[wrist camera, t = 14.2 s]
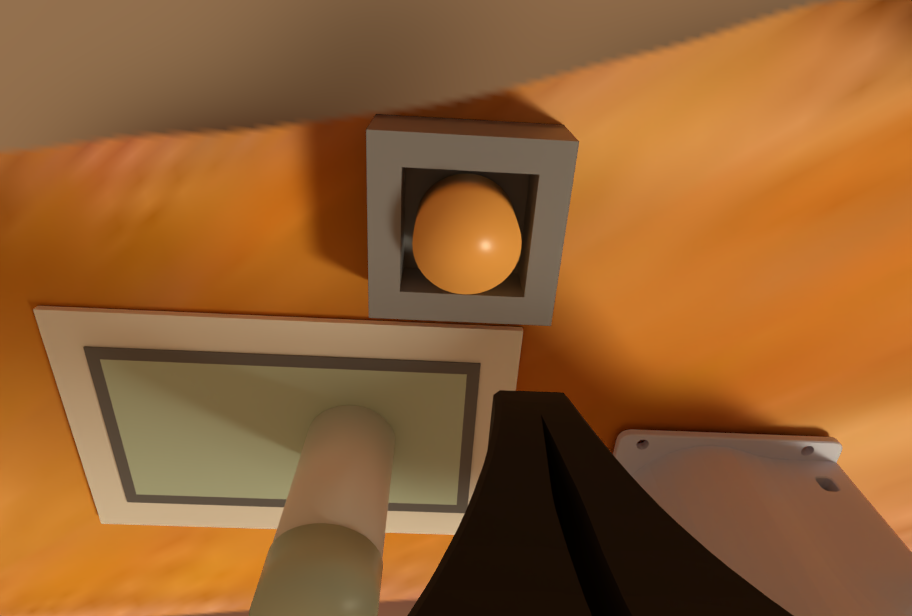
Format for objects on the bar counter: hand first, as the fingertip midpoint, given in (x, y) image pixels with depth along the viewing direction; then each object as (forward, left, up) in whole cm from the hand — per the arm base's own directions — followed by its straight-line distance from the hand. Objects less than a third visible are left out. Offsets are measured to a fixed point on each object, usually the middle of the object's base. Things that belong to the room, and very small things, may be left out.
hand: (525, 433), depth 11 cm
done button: (+1, -1, -9) cm, 9 cm away
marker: (+5, +9, -10) cm, 14 cm away
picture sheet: (+8, +9, -10) cm, 16 cm away
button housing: (+1, -1, -10) cm, 10 cm away
